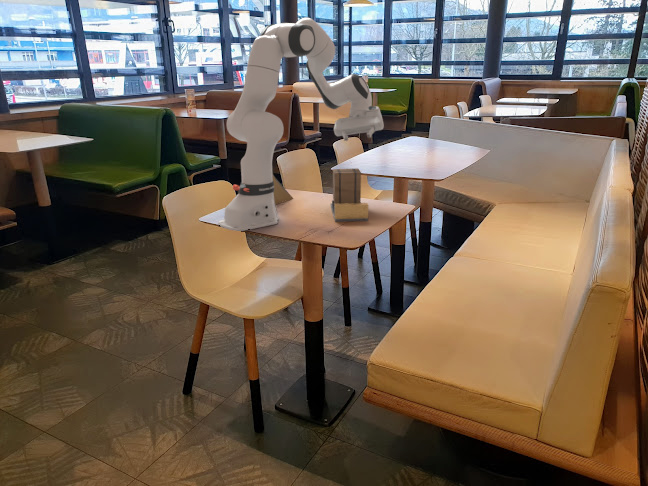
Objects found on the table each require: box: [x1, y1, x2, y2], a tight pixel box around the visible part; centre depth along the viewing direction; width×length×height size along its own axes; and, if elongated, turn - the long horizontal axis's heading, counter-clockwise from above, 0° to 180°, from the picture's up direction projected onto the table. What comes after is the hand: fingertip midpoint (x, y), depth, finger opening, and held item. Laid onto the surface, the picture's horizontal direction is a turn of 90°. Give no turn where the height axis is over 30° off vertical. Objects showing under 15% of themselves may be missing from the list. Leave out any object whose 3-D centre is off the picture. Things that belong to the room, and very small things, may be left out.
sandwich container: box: [272, 173, 294, 205], centre depth 206 cm, size 9×15×15 cm, turn 144°
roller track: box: [330, 199, 369, 223], centre depth 188 cm, size 22×12×6 cm, turn 4°
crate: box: [332, 168, 362, 204], centre depth 192 cm, size 8×10×12 cm
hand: (357, 137), depth 194 cm, fingers open, 8 cm apart
